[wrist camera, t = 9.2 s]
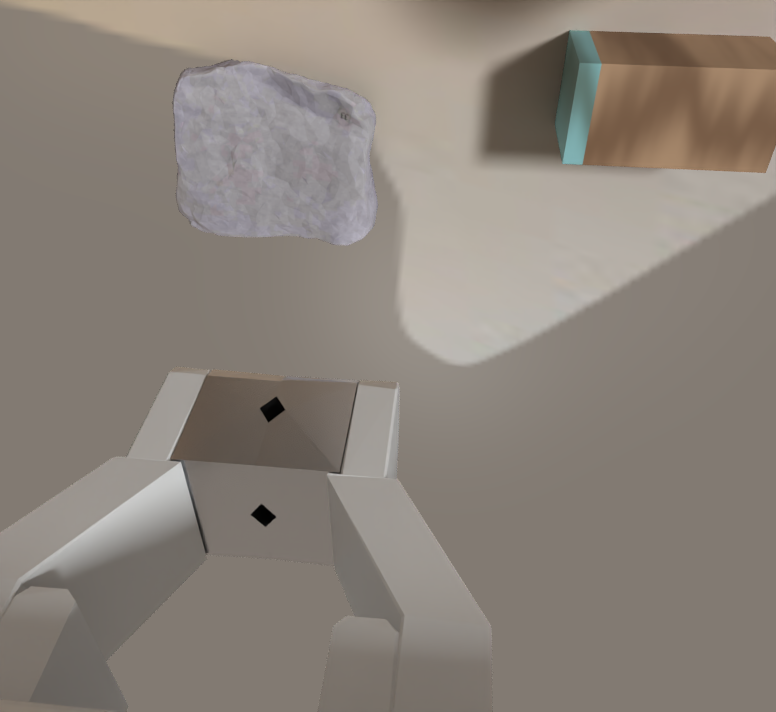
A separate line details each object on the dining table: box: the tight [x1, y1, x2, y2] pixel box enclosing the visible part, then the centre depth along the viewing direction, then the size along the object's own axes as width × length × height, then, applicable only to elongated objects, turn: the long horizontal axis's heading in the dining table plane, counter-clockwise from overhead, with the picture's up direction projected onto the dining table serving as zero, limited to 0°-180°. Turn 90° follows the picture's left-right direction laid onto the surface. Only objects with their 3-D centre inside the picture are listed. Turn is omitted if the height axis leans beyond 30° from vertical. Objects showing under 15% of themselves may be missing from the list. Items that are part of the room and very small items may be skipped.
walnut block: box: [555, 30, 776, 173], centre depth 37 cm, size 5×5×10 cm
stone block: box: [173, 59, 378, 245], centre depth 42 cm, size 12×5×10 cm
